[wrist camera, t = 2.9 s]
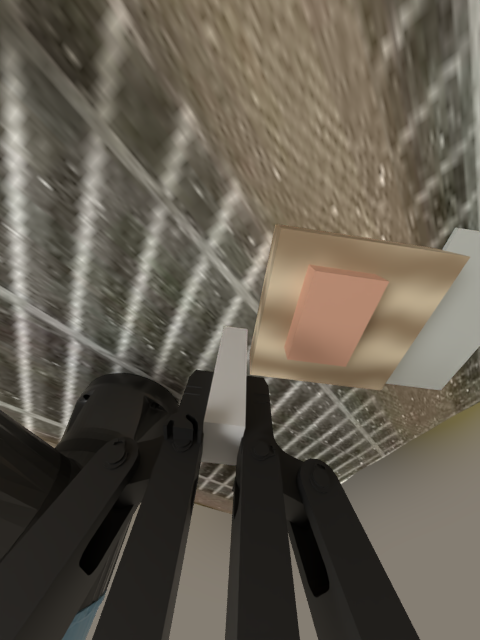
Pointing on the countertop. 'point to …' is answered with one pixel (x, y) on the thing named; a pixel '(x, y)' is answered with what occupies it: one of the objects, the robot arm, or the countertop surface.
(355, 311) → the pink block
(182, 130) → the countertop surface
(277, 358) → the board
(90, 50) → the countertop surface
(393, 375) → the mat
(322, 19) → the countertop surface
